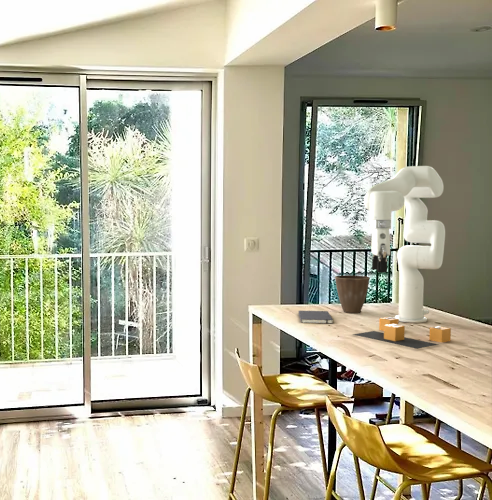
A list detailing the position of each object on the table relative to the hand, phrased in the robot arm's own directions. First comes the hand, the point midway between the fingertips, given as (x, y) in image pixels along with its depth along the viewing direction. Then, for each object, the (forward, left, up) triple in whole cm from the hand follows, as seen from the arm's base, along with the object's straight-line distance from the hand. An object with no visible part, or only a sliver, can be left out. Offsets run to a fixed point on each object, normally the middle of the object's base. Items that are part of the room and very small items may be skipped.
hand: (379, 270), depth 240 cm
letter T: (-11, -4, -25) cm, 27 cm away
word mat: (+1, +8, -25) cm, 26 cm away
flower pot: (-33, -42, -25) cm, 59 cm away
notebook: (-7, -39, -25) cm, 47 cm away
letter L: (-11, +18, -25) cm, 32 cm away
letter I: (+1, +8, -24) cm, 25 cm away
